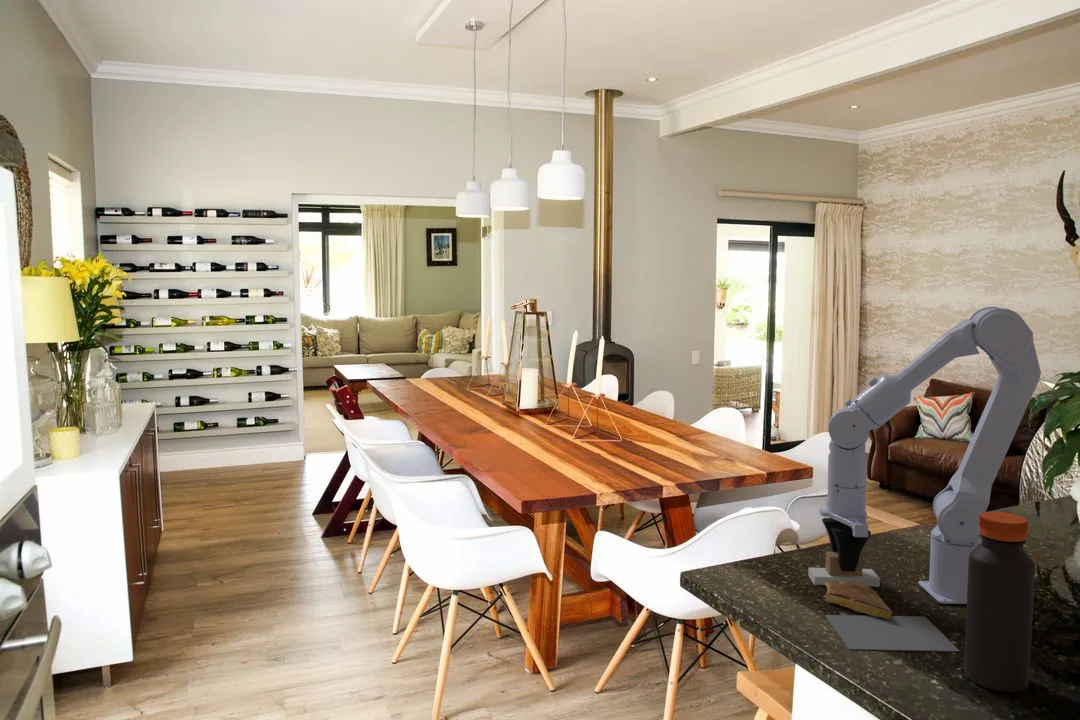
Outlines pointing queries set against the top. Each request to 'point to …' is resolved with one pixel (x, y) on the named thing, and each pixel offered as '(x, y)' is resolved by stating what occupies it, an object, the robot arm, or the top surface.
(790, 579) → the top surface
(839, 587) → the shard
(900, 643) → the felt mat
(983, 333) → the robot arm
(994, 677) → the bottle
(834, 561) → the grout float
